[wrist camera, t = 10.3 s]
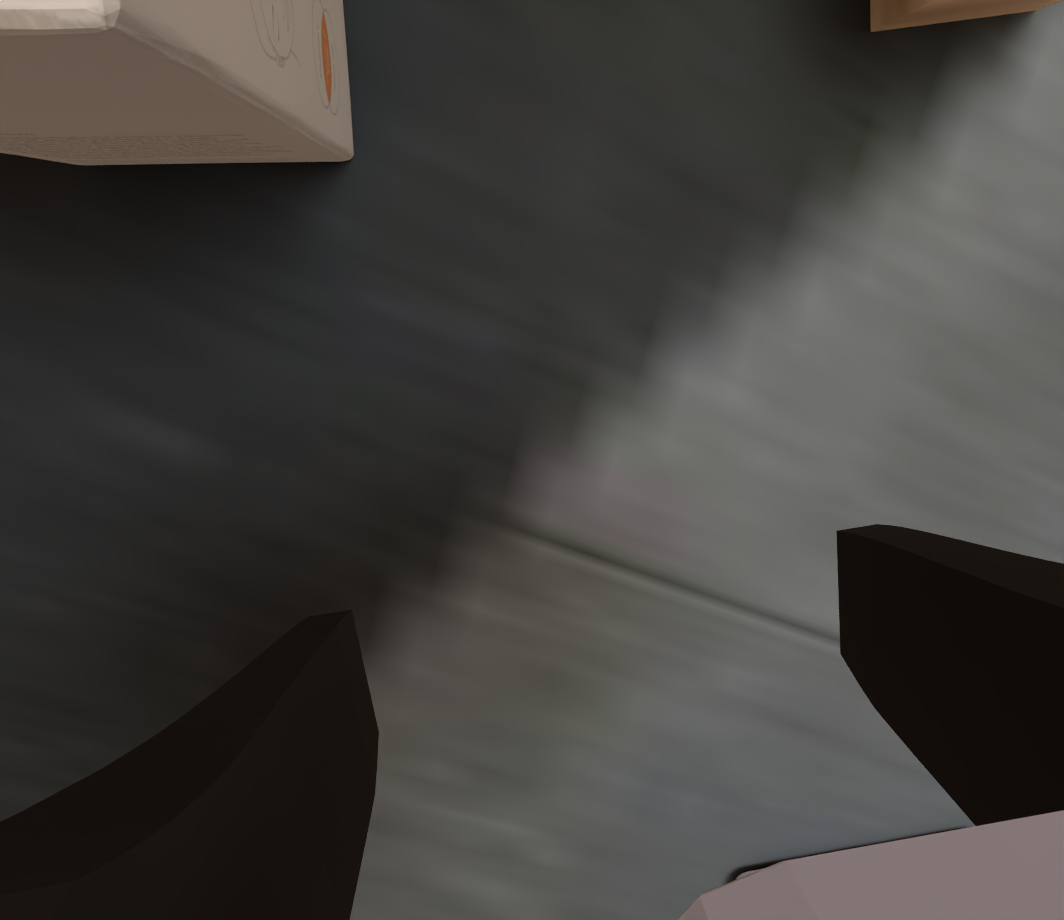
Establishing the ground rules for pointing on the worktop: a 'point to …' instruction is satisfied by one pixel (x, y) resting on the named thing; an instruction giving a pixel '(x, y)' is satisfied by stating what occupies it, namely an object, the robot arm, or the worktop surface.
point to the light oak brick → (943, 11)
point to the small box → (174, 81)
